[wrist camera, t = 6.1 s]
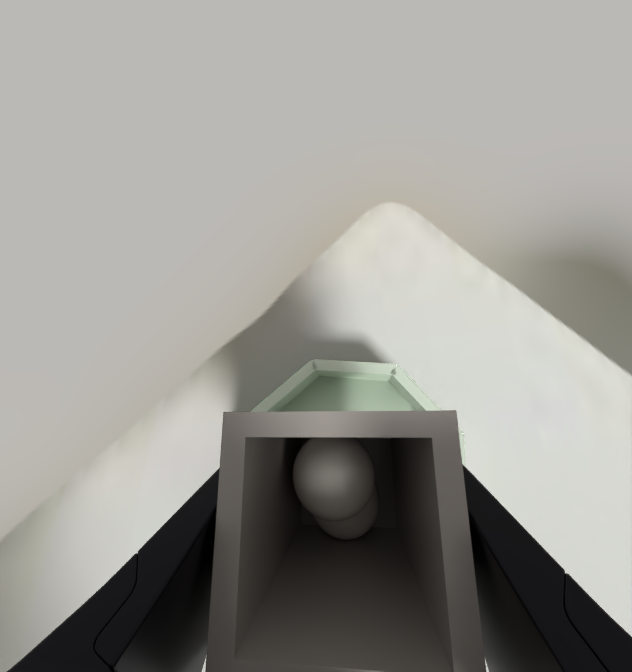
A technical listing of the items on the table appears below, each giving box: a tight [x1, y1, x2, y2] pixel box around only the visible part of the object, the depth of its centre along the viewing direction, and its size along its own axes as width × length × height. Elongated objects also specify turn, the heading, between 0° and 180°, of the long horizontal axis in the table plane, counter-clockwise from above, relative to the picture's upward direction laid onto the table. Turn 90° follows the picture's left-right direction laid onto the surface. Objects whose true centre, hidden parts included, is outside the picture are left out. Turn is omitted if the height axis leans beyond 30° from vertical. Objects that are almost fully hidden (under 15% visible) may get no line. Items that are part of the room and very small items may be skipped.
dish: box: [250, 359, 466, 467], centre depth 19 cm, size 13×13×3 cm
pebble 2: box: [313, 483, 380, 540], centre depth 14 cm, size 3×3×3 cm
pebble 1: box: [292, 437, 376, 521], centre depth 11 cm, size 3×3×3 cm
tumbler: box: [206, 410, 486, 672], centre depth 11 cm, size 6×6×10 cm
